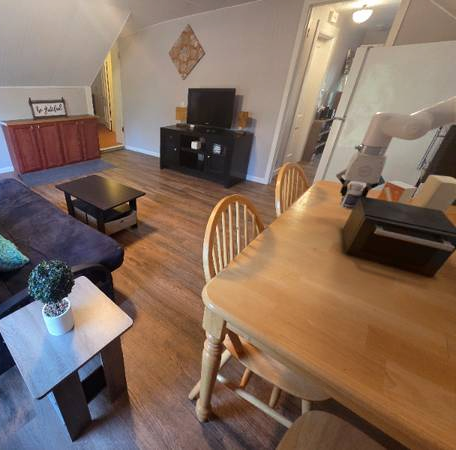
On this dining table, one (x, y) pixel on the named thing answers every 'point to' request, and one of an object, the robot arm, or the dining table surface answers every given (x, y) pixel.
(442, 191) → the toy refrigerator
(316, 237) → the dining table surface
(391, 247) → the oven door
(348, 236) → the oven
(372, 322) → the dining table surface
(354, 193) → the pill bottle
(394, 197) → the small box
